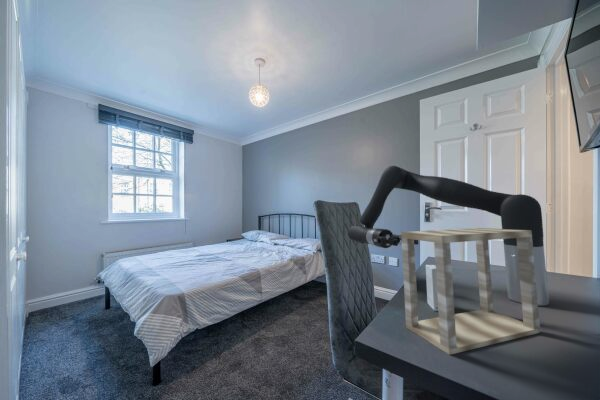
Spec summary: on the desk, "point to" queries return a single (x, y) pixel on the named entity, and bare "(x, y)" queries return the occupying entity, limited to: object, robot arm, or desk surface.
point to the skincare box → (431, 287)
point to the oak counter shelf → (477, 319)
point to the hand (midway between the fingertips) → (407, 242)
